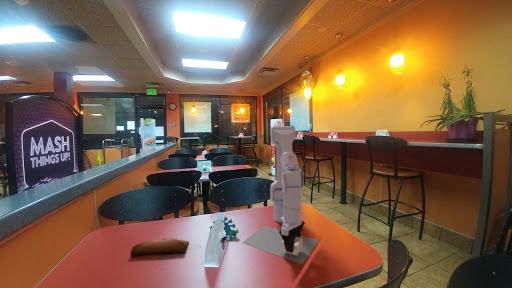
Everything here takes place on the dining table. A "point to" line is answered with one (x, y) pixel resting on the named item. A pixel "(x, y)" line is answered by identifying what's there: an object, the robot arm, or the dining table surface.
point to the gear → (228, 228)
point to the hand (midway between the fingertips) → (292, 247)
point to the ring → (296, 246)
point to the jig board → (279, 244)
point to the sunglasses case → (160, 247)
